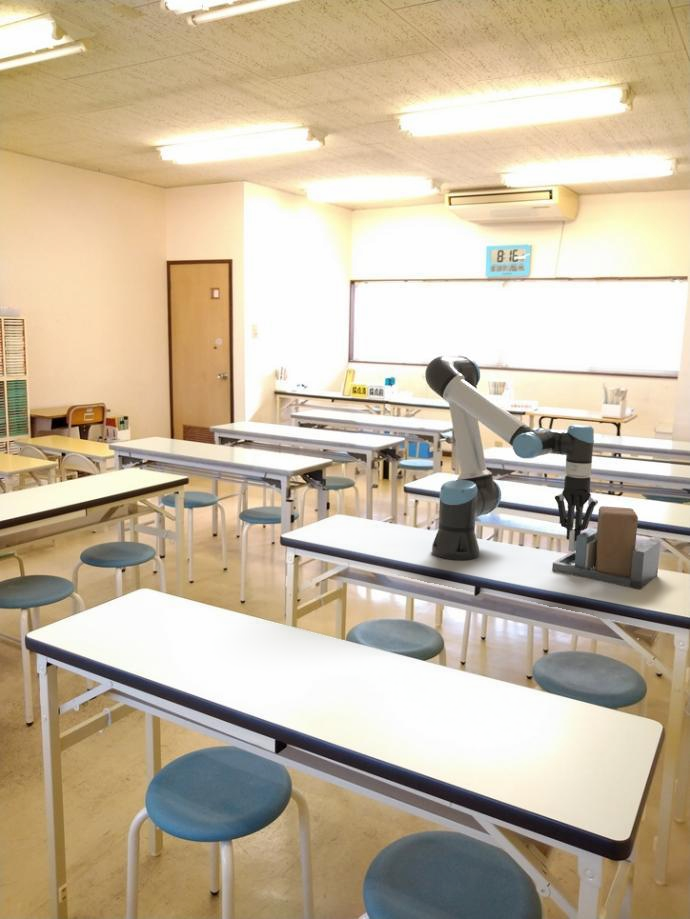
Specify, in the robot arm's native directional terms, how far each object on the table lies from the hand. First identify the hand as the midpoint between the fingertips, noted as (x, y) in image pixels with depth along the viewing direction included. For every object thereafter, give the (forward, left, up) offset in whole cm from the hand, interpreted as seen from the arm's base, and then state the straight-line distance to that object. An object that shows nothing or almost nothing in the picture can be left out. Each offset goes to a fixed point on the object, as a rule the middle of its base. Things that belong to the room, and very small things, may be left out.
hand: (572, 550), depth 223 cm
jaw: (+5, 0, -5) cm, 7 cm away
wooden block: (+13, 0, -5) cm, 14 cm away
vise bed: (+10, 0, -5) cm, 11 cm away
